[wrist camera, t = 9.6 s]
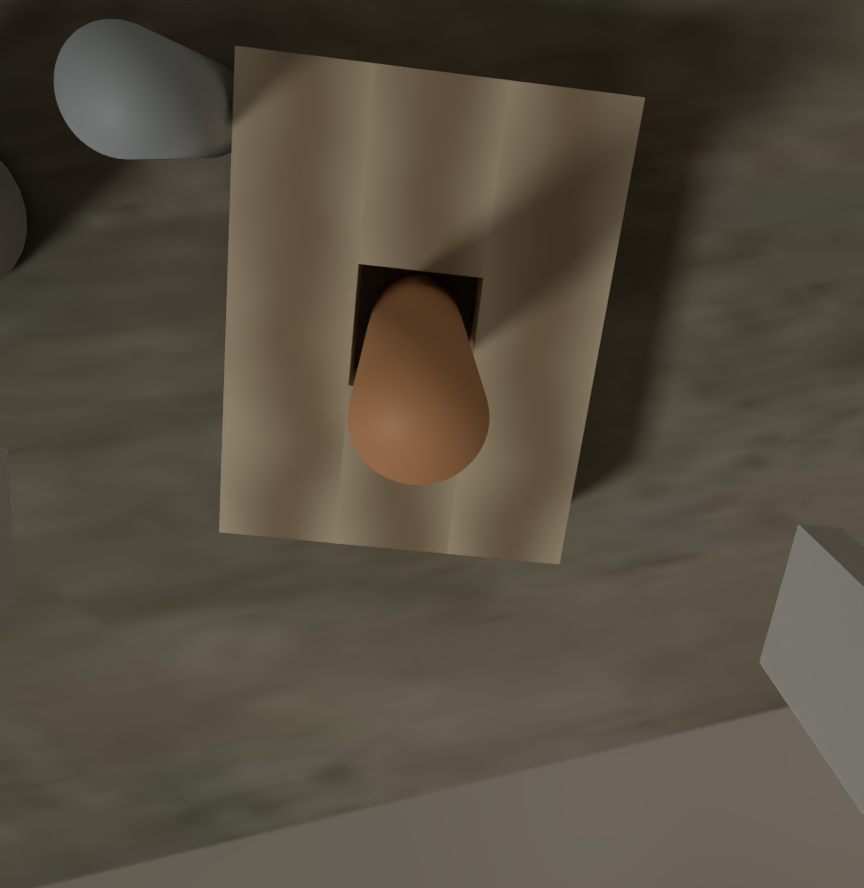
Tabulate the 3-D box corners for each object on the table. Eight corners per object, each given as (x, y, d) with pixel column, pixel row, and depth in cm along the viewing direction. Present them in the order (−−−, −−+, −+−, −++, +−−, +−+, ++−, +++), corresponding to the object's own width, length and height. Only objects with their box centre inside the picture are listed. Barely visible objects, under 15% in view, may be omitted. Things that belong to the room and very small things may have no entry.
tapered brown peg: (368, 354, 35) (342, 477, 21) (375, 267, 33) (353, 342, 20) (453, 363, 35) (479, 491, 22) (463, 277, 34) (499, 357, 20)
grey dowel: (158, 152, 33) (56, 151, 23) (159, 53, 32) (51, 10, 22) (249, 162, 33) (183, 166, 24) (253, 65, 32) (185, 27, 22)
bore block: (241, 489, 38) (219, 532, 33) (259, 60, 32) (234, 45, 28) (543, 519, 38) (559, 564, 34) (615, 104, 33) (645, 97, 28)
